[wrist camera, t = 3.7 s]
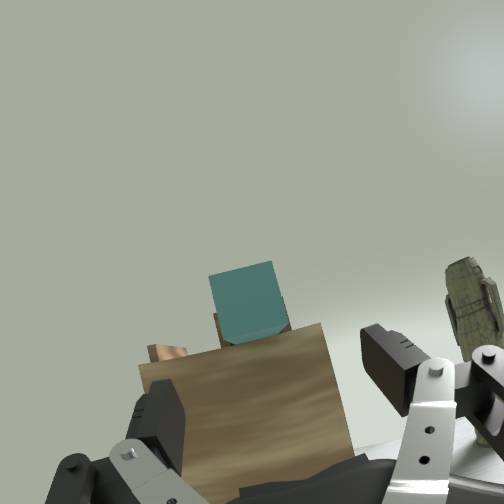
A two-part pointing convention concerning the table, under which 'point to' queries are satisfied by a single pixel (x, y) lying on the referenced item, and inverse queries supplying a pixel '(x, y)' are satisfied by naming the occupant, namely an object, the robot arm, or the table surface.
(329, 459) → the stand
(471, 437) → the table surface
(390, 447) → the table surface
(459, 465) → the table surface
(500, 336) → the stone statue
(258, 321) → the block
